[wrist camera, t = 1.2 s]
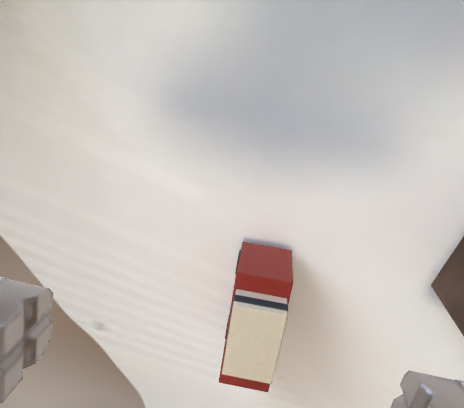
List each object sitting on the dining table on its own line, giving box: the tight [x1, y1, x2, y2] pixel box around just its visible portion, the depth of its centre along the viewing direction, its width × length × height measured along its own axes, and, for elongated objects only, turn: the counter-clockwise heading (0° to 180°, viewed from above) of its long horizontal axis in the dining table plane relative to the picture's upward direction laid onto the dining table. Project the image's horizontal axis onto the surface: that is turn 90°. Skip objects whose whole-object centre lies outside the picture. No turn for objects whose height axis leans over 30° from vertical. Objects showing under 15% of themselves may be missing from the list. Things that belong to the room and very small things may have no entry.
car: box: [219, 242, 293, 392], centre depth 38 cm, size 13×5×10 cm, turn 172°
